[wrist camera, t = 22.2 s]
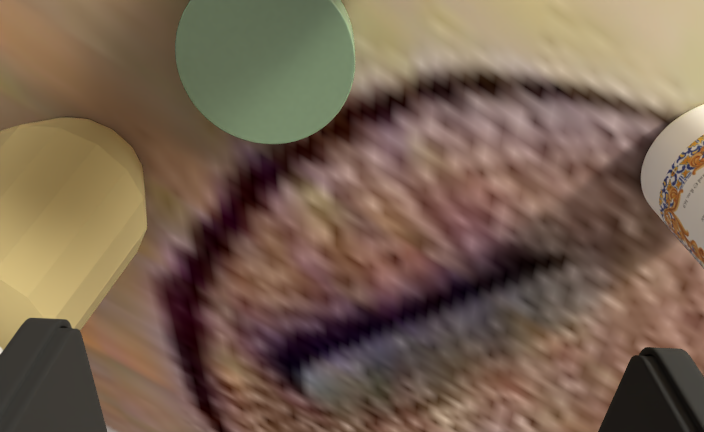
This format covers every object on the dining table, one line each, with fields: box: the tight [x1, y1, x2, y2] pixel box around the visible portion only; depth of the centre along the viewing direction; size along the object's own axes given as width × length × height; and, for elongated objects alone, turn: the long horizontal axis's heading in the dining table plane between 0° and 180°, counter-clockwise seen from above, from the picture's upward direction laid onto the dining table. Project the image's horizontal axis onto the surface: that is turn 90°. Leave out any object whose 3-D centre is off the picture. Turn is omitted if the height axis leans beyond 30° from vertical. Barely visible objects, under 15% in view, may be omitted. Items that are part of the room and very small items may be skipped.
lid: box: [175, 0, 355, 144], centre depth 25 cm, size 8×8×2 cm
